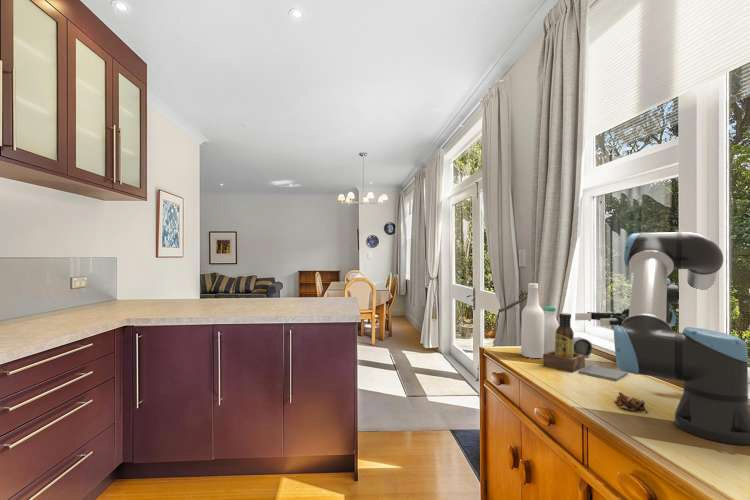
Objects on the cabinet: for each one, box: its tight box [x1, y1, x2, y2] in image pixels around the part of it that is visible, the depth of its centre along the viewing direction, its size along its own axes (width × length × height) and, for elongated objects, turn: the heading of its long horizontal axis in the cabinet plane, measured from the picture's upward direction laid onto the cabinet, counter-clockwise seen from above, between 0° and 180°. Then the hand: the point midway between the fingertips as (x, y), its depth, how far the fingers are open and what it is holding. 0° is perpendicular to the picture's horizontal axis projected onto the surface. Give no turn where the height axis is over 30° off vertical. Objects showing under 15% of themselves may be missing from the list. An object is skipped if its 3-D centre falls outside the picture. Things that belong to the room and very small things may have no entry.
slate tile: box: [578, 364, 629, 382], centre depth 142 cm, size 12×12×1 cm
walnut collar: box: [542, 350, 586, 373], centre depth 150 cm, size 11×11×4 cm
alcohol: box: [520, 282, 544, 359], centre depth 166 cm, size 9×9×30 cm
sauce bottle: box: [555, 312, 575, 358], centre depth 151 cm, size 6×6×20 cm
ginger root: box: [613, 392, 650, 414], centre depth 112 cm, size 7×12×4 cm, turn 166°
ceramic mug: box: [573, 336, 594, 358], centre depth 170 cm, size 11×8×8 cm
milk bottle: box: [543, 306, 560, 354], centre depth 170 cm, size 8×8×20 cm
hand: (587, 319), depth 153 cm, fingers open, 13 cm apart
